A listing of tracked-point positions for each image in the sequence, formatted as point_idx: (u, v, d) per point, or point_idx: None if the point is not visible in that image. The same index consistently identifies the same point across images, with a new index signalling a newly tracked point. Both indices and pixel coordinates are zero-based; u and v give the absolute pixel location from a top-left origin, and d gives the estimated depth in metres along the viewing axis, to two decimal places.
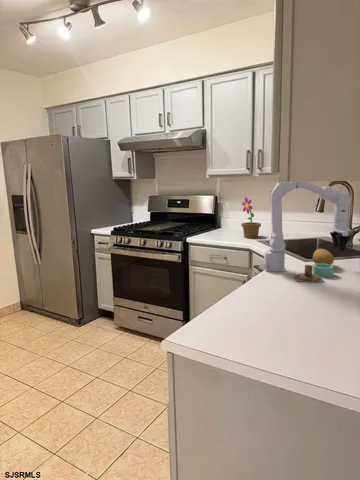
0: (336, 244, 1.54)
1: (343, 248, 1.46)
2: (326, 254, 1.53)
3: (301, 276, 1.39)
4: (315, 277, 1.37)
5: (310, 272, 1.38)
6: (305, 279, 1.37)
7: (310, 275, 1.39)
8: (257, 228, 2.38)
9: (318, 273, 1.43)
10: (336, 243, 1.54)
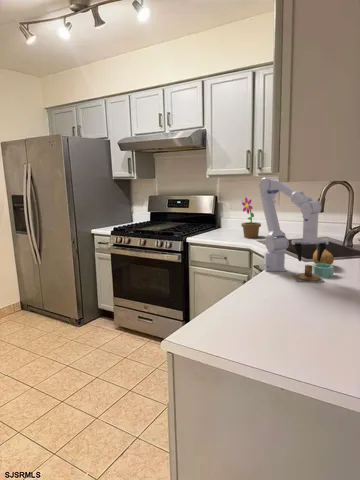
0: (317, 257, 1.38)
1: (298, 258, 1.39)
2: (326, 254, 1.53)
3: (301, 276, 1.39)
4: (315, 277, 1.37)
5: (310, 272, 1.38)
6: (305, 279, 1.37)
7: (310, 275, 1.39)
8: (257, 228, 2.38)
9: (318, 273, 1.43)
10: (317, 256, 1.38)
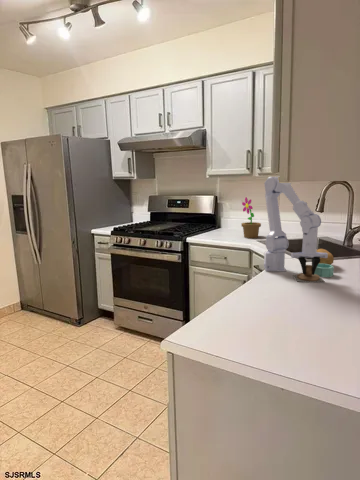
0: (312, 271, 1.39)
1: (303, 271, 1.40)
2: None
3: (301, 276, 1.39)
4: (315, 277, 1.37)
5: (310, 272, 1.38)
6: (305, 279, 1.37)
7: (310, 275, 1.39)
8: (257, 228, 2.38)
9: (318, 273, 1.43)
10: (312, 269, 1.39)
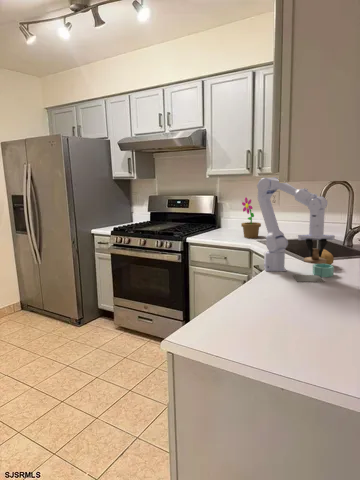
0: None
1: (310, 254, 1.41)
2: (326, 254, 1.53)
3: (308, 259, 1.40)
4: (322, 260, 1.38)
5: (317, 255, 1.39)
6: (311, 262, 1.37)
7: (317, 258, 1.39)
8: (257, 228, 2.38)
9: (318, 273, 1.43)
10: (319, 252, 1.40)
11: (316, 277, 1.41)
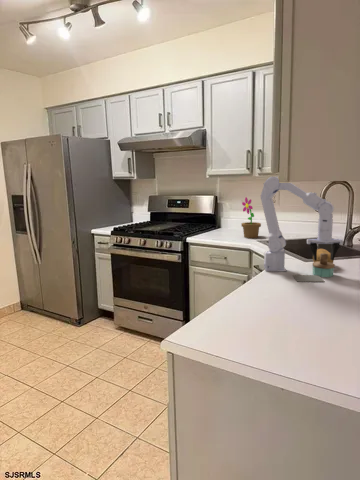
0: (331, 256, 1.44)
1: (314, 257, 1.45)
2: None
3: (316, 264, 1.44)
4: (330, 265, 1.42)
5: (325, 260, 1.43)
6: (320, 267, 1.41)
7: (325, 263, 1.43)
8: (257, 228, 2.38)
9: (318, 273, 1.43)
10: (331, 255, 1.44)
11: (316, 277, 1.41)
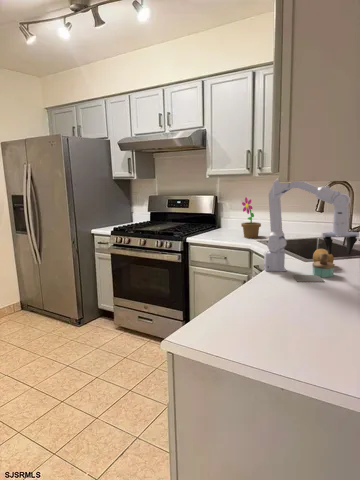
0: (347, 250, 1.38)
1: (328, 251, 1.39)
2: None
3: (316, 264, 1.44)
4: (330, 265, 1.42)
5: (325, 260, 1.43)
6: (320, 267, 1.41)
7: (325, 263, 1.43)
8: (257, 228, 2.38)
9: (318, 273, 1.43)
10: (347, 249, 1.38)
11: (316, 277, 1.41)
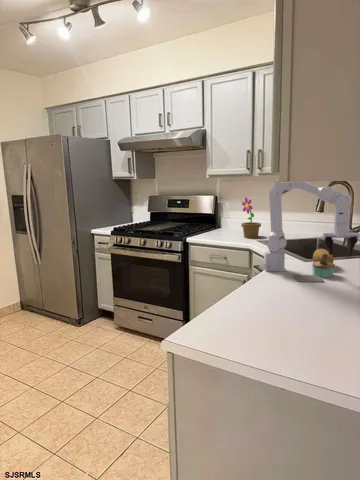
0: (348, 251, 1.38)
1: (329, 252, 1.38)
2: None
3: (316, 264, 1.44)
4: (330, 265, 1.42)
5: (325, 260, 1.43)
6: (320, 267, 1.41)
7: (325, 263, 1.43)
8: (257, 228, 2.38)
9: (318, 273, 1.43)
10: (348, 250, 1.38)
11: (316, 277, 1.41)
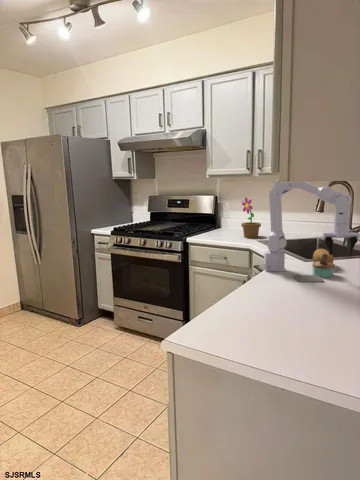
0: (348, 251, 1.38)
1: (329, 252, 1.38)
2: None
3: (316, 264, 1.44)
4: (330, 265, 1.42)
5: (325, 260, 1.43)
6: (320, 267, 1.41)
7: (325, 263, 1.43)
8: (257, 228, 2.38)
9: (318, 273, 1.43)
10: (348, 250, 1.38)
11: (316, 277, 1.41)
